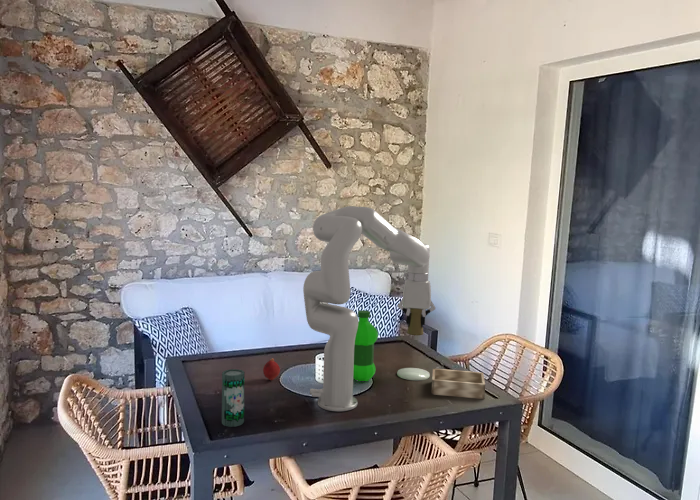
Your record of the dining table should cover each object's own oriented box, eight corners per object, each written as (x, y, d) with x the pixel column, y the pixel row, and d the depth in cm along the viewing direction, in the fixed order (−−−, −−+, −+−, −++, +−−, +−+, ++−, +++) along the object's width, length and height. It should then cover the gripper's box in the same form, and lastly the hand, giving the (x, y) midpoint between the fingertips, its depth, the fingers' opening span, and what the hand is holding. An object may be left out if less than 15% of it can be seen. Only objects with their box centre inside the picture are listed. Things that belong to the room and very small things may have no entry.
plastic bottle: (343, 382, 205) (346, 313, 202) (352, 373, 215) (354, 307, 212) (371, 386, 202) (373, 316, 199) (378, 376, 212) (381, 310, 209)
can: (227, 428, 165) (227, 377, 163) (218, 420, 170) (219, 371, 168) (247, 423, 168) (247, 373, 166) (238, 416, 173) (238, 367, 171)
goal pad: (395, 378, 211) (395, 376, 211) (398, 368, 222) (398, 366, 222) (429, 381, 209) (429, 379, 209) (430, 371, 220) (430, 369, 220)
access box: (431, 394, 196) (432, 379, 196) (432, 381, 209) (433, 368, 208) (484, 399, 194) (485, 384, 193) (482, 386, 206) (483, 372, 205)
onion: (268, 384, 201) (268, 362, 200) (259, 379, 205) (260, 357, 204) (282, 381, 205) (283, 359, 204) (274, 376, 209) (274, 355, 208)
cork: (422, 335, 210) (424, 306, 209) (406, 334, 211) (407, 305, 210) (424, 331, 216) (425, 302, 215) (407, 330, 217) (409, 301, 216)
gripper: (394, 277, 209) (391, 327, 211) (440, 280, 206) (438, 330, 208) (395, 274, 216) (393, 322, 218) (441, 277, 214) (438, 325, 216)
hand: (415, 325), depth 213 cm, fingers closed on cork, 3 cm apart
